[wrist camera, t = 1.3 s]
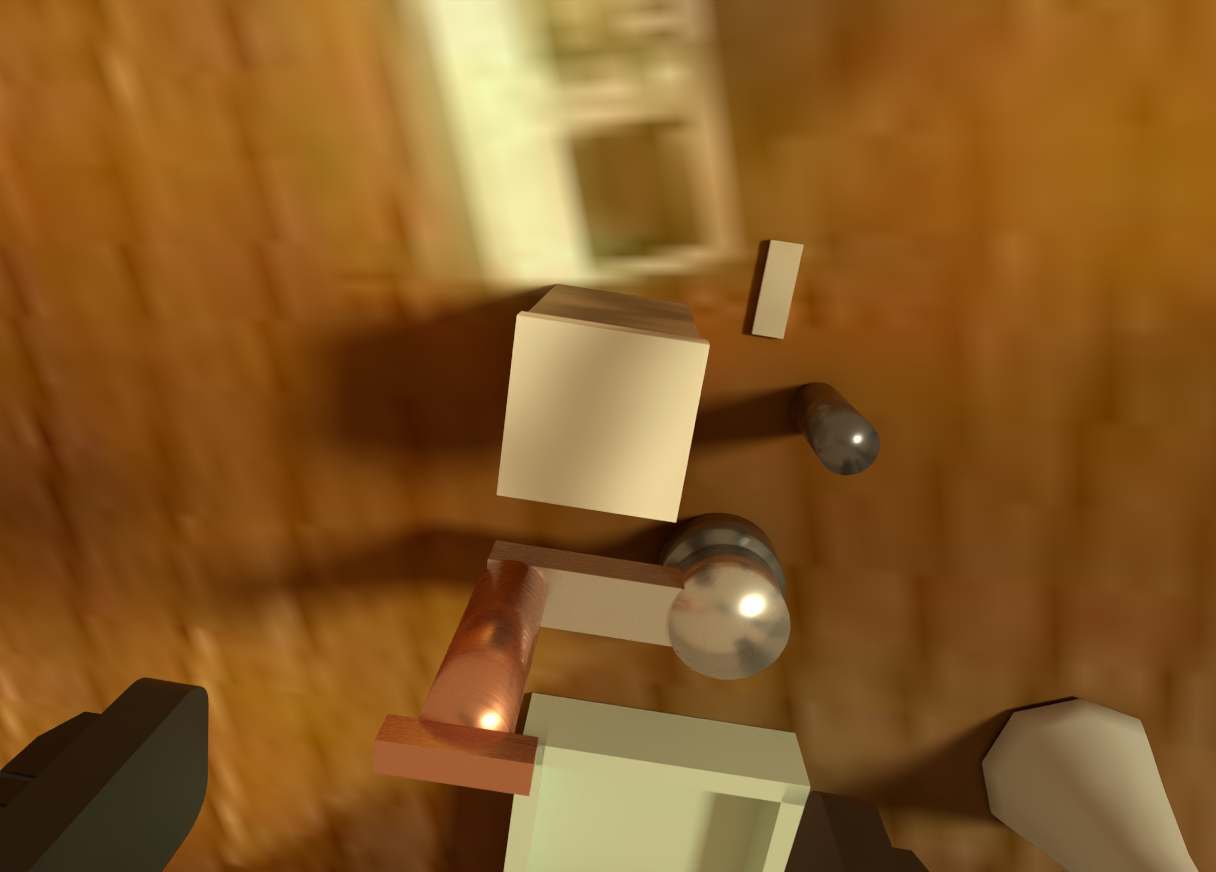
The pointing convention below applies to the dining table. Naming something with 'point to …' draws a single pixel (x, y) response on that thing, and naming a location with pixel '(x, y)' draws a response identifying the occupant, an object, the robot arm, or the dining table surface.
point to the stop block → (602, 402)
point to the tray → (654, 793)
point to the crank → (581, 602)
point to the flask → (1084, 790)
